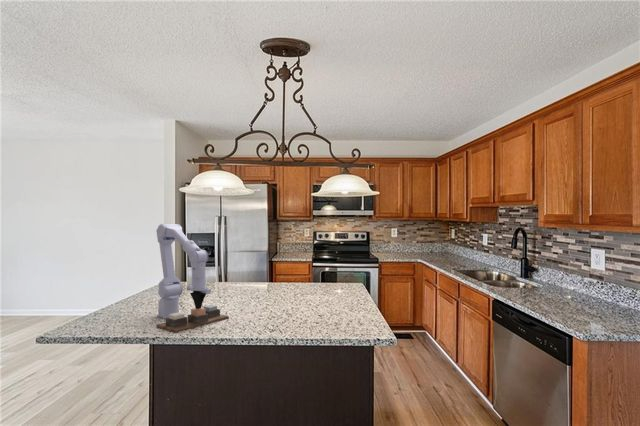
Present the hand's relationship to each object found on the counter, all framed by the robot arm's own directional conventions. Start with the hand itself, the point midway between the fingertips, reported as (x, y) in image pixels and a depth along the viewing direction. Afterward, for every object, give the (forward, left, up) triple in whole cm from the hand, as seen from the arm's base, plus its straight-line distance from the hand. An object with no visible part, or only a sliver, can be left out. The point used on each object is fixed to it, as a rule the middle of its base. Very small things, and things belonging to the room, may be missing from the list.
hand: (198, 308), depth 170 cm
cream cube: (-3, -9, -5) cm, 11 cm away
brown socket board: (-3, 0, -7) cm, 7 cm away
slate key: (-3, +9, -5) cm, 11 cm away
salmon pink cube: (0, 0, -4) cm, 4 cm away
